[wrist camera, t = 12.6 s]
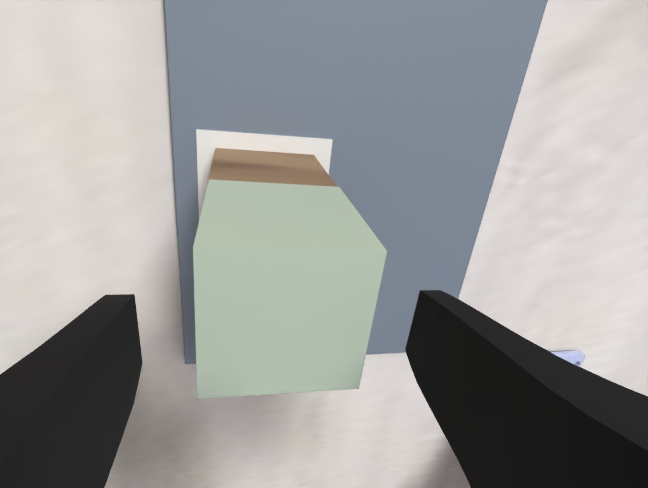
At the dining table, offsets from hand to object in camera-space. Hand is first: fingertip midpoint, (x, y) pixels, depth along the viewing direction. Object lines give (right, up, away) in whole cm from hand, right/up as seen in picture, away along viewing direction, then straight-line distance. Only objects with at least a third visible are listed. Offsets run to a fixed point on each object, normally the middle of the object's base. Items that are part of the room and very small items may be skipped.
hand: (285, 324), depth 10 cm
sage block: (-1, +2, +4) cm, 5 cm away
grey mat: (+2, +5, +10) cm, 11 cm away
